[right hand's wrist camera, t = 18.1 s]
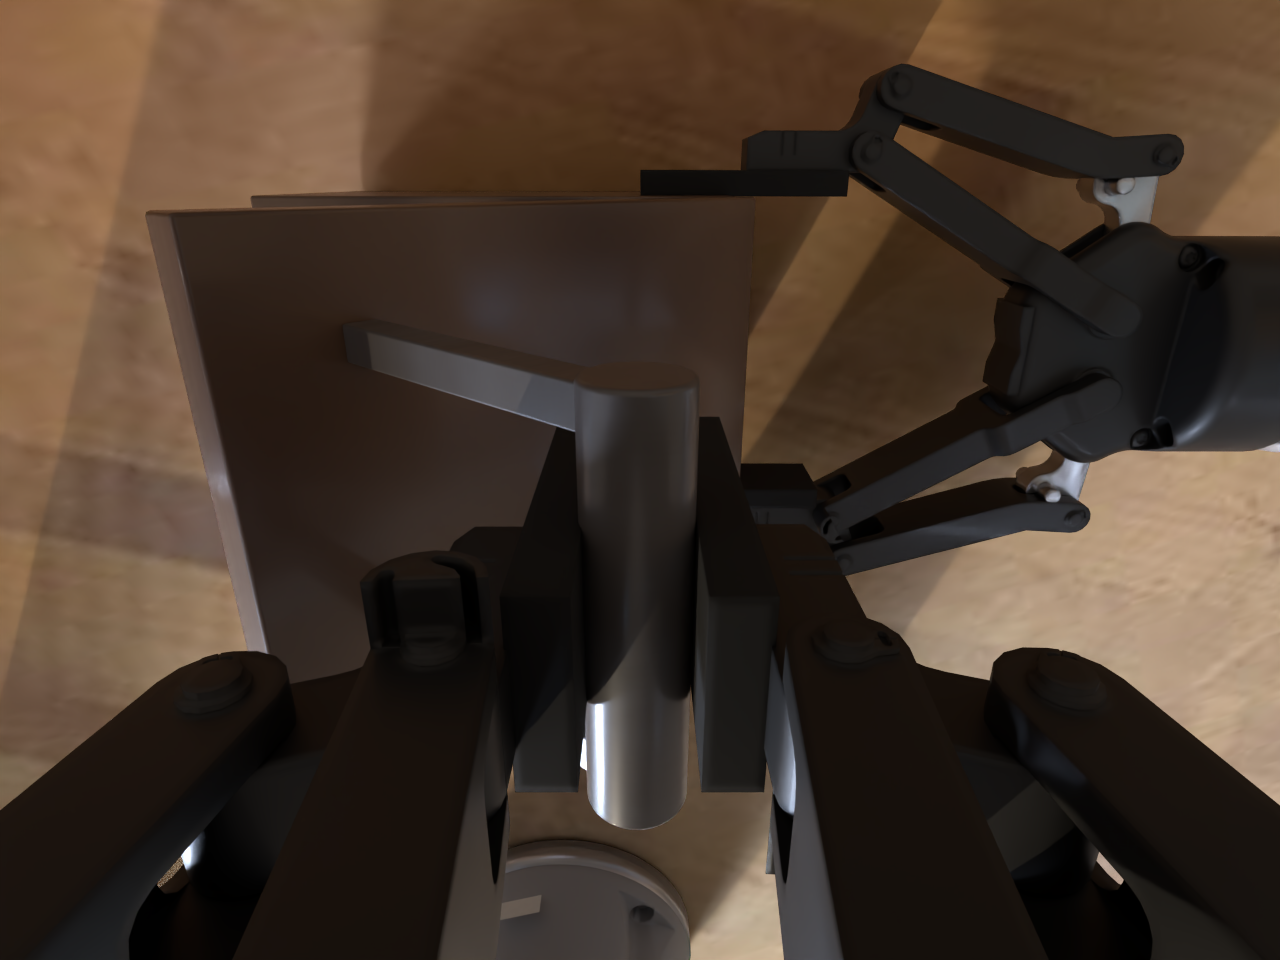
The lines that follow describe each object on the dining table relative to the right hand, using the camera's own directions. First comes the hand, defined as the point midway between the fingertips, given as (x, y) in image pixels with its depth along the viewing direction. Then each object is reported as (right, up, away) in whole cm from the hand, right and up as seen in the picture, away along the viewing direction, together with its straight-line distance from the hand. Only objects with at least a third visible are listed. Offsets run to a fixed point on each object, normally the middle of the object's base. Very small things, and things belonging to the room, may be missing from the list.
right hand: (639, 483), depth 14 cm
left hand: (0, +5, +12) cm, 13 cm away
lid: (-3, +2, +4) cm, 5 cm away
